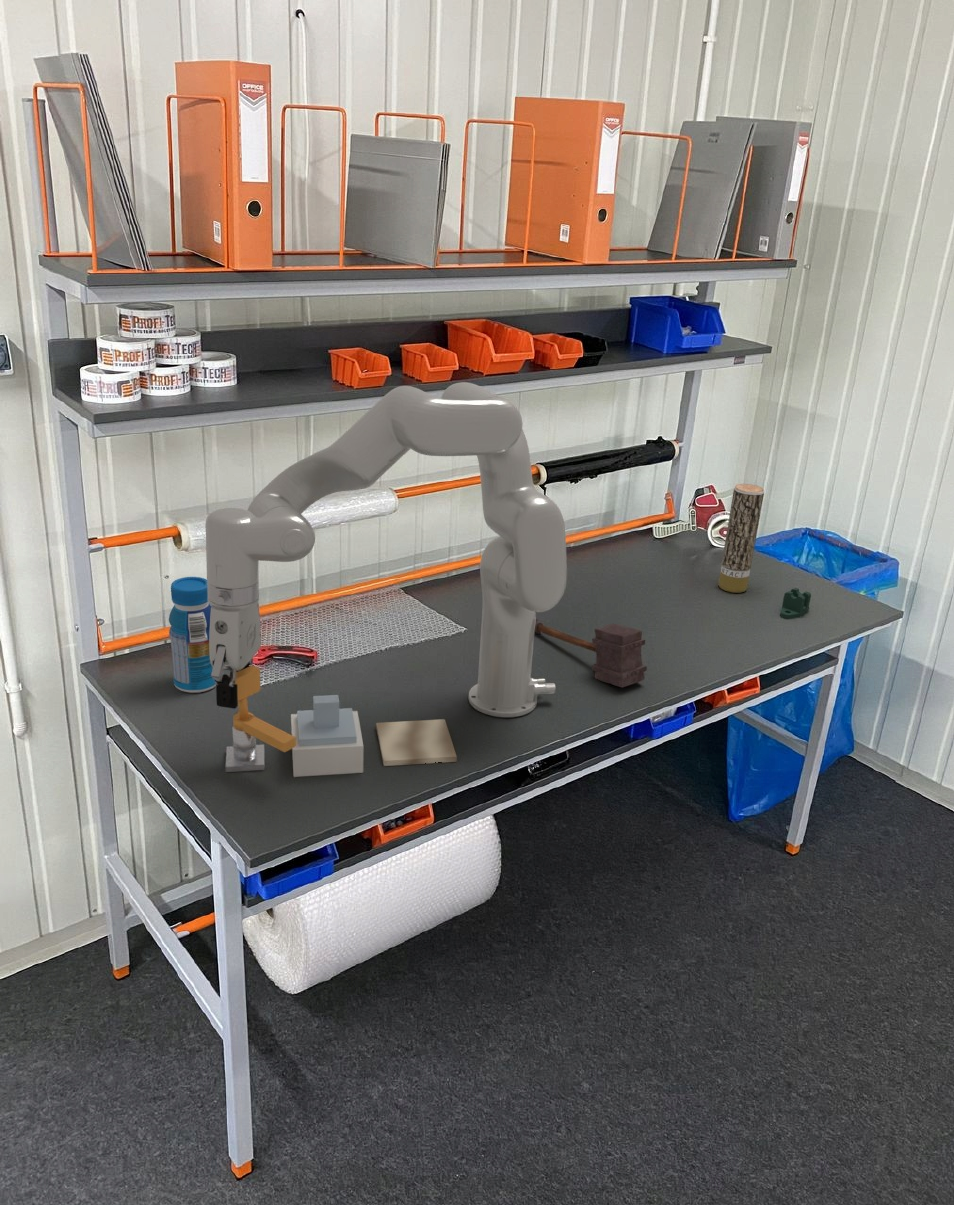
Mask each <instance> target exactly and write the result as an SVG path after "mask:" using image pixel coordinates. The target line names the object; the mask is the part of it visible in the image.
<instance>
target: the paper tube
mask: <svg viewBox="0 0 954 1205" xmlns="http://www.w3.org/2000/svg"><path fill="white" fill-rule="evenodd" d="M764 496H765V489H764V488H763V487H762V486H759V485H757V484H756V485H755V484H751V483H738V484H735V485H734V487H733V492H732V498H731V506H730V510H729V515H728V516H729V517H728V523H727V529H726V535H725V541H724V548H723V552H722V559H721V565H720V572H719V576H718V577H719V579H718V588H720V589H721V590H723V591H725V592H728V593H732V594H733V593H734V594H740V593H743V592H745V591H746V590H747V589H748V585H749V579H750V574H751V569H752V563H753V557H754V551H755V547H756V541H757V535H758V529H759V525H760V519H761V513H762V509H763V508H762V507H763V502H764Z"/></svg>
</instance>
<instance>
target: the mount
mask: <svg viewBox="0 0 954 1205" xmlns="http://www.w3.org/2000/svg"><path fill="white" fill-rule="evenodd" d="M811 598H812V594H811V592H810V591H804V592H803V593H801V592H800V589H799V588H797V587H793V588H792V589H790V591H789V590H788V591H786V592H785V593H784V595H783V600H782V605H781V609H780V613H779V617H780V618H781V619H783V620H784V619H785V620H793V619H798V618H801V617H803V616H804V615H806V614H807V613H808V612H809V609H810V602H811Z"/></svg>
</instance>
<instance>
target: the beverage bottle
mask: <svg viewBox="0 0 954 1205" xmlns="http://www.w3.org/2000/svg"><path fill="white" fill-rule="evenodd" d="M170 596H171V601H172V603H173V606H172V608H171V610H170V612H169V615H168V623H169V625H170V627H169V629H168V635H169V639H170V647H171V656H172V657H171V658H172V660H171V661H172V669H173V670H172V671H173V685H174V686H175V688H176V689H177V690H179V691H182V692H183V693H184V692H185V693H190V694H195V693H202V692H203V693H205V692H207V691H210V690H212V689H214V688H216V685H215V680H214V679H213V678H212V677H211V673H212V669H213V666H212V665H211V663H210V654H209V632H210V614H211V606H212V605H210V604H209V603H208V600H207V578H204V577H200V576H185V577H181V578H177V579H175V580H174V581H172V583H171V584H170Z"/></svg>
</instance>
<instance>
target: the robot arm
mask: <svg viewBox="0 0 954 1205" xmlns="http://www.w3.org/2000/svg"><path fill="white" fill-rule="evenodd" d="M528 444H529V443H528V441H527V437H526V435H525V431H524V430H523V418H522V415H521V413H520V411H519V409H518V408H517V407H516V406H515V404H514V403H513V402H511V401H510V400H508V399H506V398H504V397H502V396H499V395H498V394H495V393H493V392H491V391H490V390H488V389H486V388H484V387H483V386H480V385H478V384H476V383H472V382H467V381H463V382H456V383H453V384H451V385H449V386H448V387H447V388H446V389H445V390H444V391H443V393H442V394H441V397H436V396H435V395H432V394H430V393H428V392H426V391H423V390H422V389H420V388H418V387H414V386H410V385H399V386H397V387H395V388H393V389H391V390H390V391H388V392H387V393H386V394H385V395H384V396H383V397H382V398H380V400H378V401H377V402H376V403H375V404H373V406H372V407H371V408H369V410H368V411H367V412H365V413H364V415H361V417H360V418H359V419H358V420H357V421H356V422H354V424H353V425H352V426H350V428H348V430H347V431H345V432H344V433H343V434H342V435H341V436H339V438H338V439H337V440H335V441H334V442H333V443H332V444H330V446H327V447H326V448H323V449H321V450H319V451H316V452H314V453H312V454H311V455H308V456H306V457H304V458H303V459H300V460H299V461H297V462H295V463H293V464H291V465H290V466H288V467H287V468H285V469H283V471H281V472H280V473H279V474H278V475H276V477H274V478H273V479H272V480H271V481H270V482H269V483H268V484H267V485H266V486H265V487H264V488H262V490H261V491H259V493H257V495H255V497H254V498H253V499H252V501H251V502H250V503H249V505H248V507H247V509H243V508H236V507H226V508H220V509H216V510H214V511H212V512H210V513H209V514H208V516H207V517H206V520H205V550H206V551H205V553H206V560H205V561H206V580H207V600H208V603H209V604H210V605H211V614H210V632H209V654H210V663H211V665H212V666H213V669H212V673H211V677H212V678H213V679H214V680H215V685H216V686H215V692H216V693H215V695H216V706H218V707H222V708H227V709H236V708H237V707H239V706H238V691H237V684H235V678H236V672H239V671H241V670H243V669H245V668H247V667H250V666H252V665H253V662H254V657H255V655H256V654H257V652H258V651H259V650H260V648H261V646H262V635H261V633H262V632H261V616H260V615H261V613H260V612H261V611H260V604H259V600H260V598H259V596H260V590H259V583H260V582H259V561H265V562H276V563H277V562H278V563H290V562H291V563H292V562H295V561H296V562H297V561H299V560H302V559H303V558H306V557H307V556H308V555H309V554H310V553H311V552H312V550H313V548H314V547H315V543H316V534H315V530H314V528H313V526H312V524H311V523H310V522H309V520H308V519H307V518H306V517H305V516H304V515H302V514H303V513H304V512H305V511H306V510H307V509H308V508H310V507H311V506H312V505H313V504H315V503H316V502H317V501H319V500H321V499H322V498H323V499H324V498H325V497H326V496H329V495H331V494H335V493H340V492H348V491H349V492H350V491H357V490H364V489H367V488H370V487H371V486H373V485H374V484H375V483H377V481H378V480H379V479H381V477H383V475H385V473H387V471H388V470H389V469H391V468H392V467H393V466H394V465H395V464H396V463H397V462H398V461H399V460H400V459H401V458H402V457H404V455H406V454H407V453H408V452H409V451H411V450H412V451H413V452H416V453H418V454H420V455H424V456H431V457H466V456H469V457H470V456H471V457H472V456H476V457H477V462H478V467H479V468H478V469H479V474H480V476H479V477H480V488H481V501H482V510H483V511H482V512H483V518H484V521H485V523H486V525H487V526H488V528H489V529H490V530H491V531H493V532H494V533H495V534H496V535H498V537H496V538H494V539H493V540H491V541H490V542H489V543H488V544H487V545H486V546H485V548H484V550H483V552H482V554H481V558H480V565H479V570H480V571H479V574H480V583H481V590H482V591H481V592H482V594H481V595H482V614H481V615H482V616H481V626H480V627H481V628H480V644H479V658H478V660H479V661H478V673H477V678H478V679H477V683H476V684H475V685H473V686H472V687H471V688H470V689H469V690H468V703H469V704H470V705H471V707H473V708H474V709H475V710H476V711H478V712H480V713H482V714H484V715H488V716H492V717H496V718H516V717H517V718H518V717H521V716H525V715H527V714H529V713H531V712H532V711H533V710H535V708H536V707H537V704H538V703H537V702H538V696H539V695H540V694H545V695H547V694H549V695H550V694H552V695H553V694H555V693H556V684H555V683H554V682H546V678H533V677H531V675H532V665H533V663H532V662H533V652H534V643H535V642H534V640H535V632H534V631H535V622H536V619H537V613H543V612H547V611H549V610H550V611H551V610H552V609H554V608H555V607H556V606H557V605H558V604H559V602H560V601H561V599H562V598H563V595H564V593H565V591H566V588H567V580H568V568H567V567H568V566H567V565H568V564H567V561H568V560H567V542H566V540H567V539H566V525H565V519H564V516H563V514H562V512H561V509H560V508H559V506H558V505H557V504H556V502H554V501H553V500H552V499H551V498H549V497H548V496H547V495H545V494H543V493H541V492H539V490H537V489H536V488H535V485H534V482H533V481H534V480H533V471H532V465H531V456H530V450H529V445H528ZM226 662H227V663H228V664H226ZM224 670H225V671H230V672H229V675H228V674H225V671H224ZM229 676H230V677H229Z"/></svg>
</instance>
